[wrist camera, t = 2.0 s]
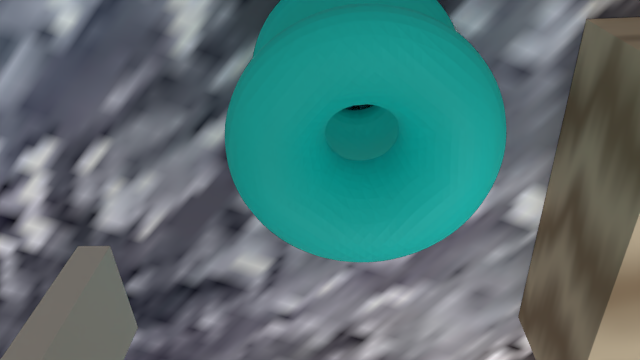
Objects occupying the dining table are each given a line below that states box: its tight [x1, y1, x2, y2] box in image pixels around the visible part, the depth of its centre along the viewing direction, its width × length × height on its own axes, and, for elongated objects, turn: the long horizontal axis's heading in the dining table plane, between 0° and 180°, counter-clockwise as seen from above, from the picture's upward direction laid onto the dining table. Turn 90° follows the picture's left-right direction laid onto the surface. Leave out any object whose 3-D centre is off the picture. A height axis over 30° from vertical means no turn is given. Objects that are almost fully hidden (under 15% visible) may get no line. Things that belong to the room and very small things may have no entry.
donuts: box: [225, 0, 506, 262], centre depth 21 cm, size 10×10×10 cm
